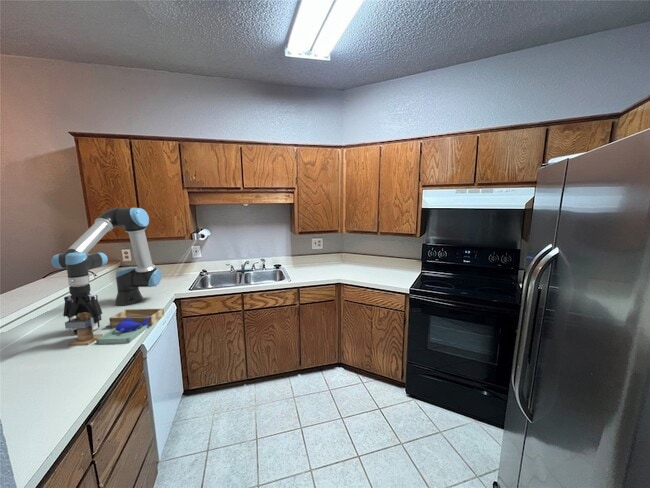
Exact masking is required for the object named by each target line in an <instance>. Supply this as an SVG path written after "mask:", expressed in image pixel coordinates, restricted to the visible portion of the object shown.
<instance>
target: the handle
mask: <svg viewBox="0 0 650 488" xmlns="http://www.w3.org/2000/svg"><path fill="white" fill-rule="evenodd" d="M77 315H78V317H79V318H80V320H88V319H87V317H89V316H91V314H90V313H87V312H83V313H78V314H77ZM76 335H77V338H76V339H74V340H72V341H70V342H69V343H68V346H89V345H90V344H92V343H94V342H95V341H96V339H97V338H99V337H101V336H102V335H103V334H102V333H101V334H99V333H98V334H94V331H93V330H92V325H91V326H89V327H87V328H77V334H76Z"/></svg>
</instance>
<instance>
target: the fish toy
mask: <svg viewBox="0 0 650 488" xmlns="http://www.w3.org/2000/svg"><path fill="white" fill-rule="evenodd" d="M148 320H149V318H146V319H145V320H144V321H143V323H136V322H132V321H133V320H132V319H125V320H124V321H123V322H120V323H119V324H118V325H117V326H116V328H115V329H116V330H117V331H128V330H132V331H134V330H139V329H138V328H137V327H138V326H140V325H143V326H145V325H147V321H148ZM147 329H150V326H148V325H147Z"/></svg>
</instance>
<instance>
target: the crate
mask: <svg viewBox="0 0 650 488" xmlns="http://www.w3.org/2000/svg"><path fill="white" fill-rule="evenodd" d="M164 310H165V309H164V308H137V309H136V308H135V309H134V308H133V309H132V308H131V309H130V308H129V309H125V308H124V310H121V311H120V312H118V313H117V314H114V315H113V316H110V317H109V328H110V329H114V328H116V326H117V325H118V324H119V323H120V322H123V321H124V320H125V319H132V320H133V321H132V322H136V323H143V321H144V320H145V319H146V318H149V320H148V321H147V325H148V327H153V325H155V324H156V323H158V321H160V320H161V319H162V318H164V316H165V311H164Z"/></svg>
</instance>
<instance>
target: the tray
mask: <svg viewBox="0 0 650 488" xmlns="http://www.w3.org/2000/svg"><path fill="white" fill-rule="evenodd" d="M137 328H138V329H136V330H134V331H132V330H128V331H117V330H116V329H115V328H111V329H110V330H108V332H106V333H104V334H102V336H101V337H99V338H97V339H96V340H95V341H96V342H95V343H96V345H109V344H111V345H114V344H117V345H119V344H131V342H132V341H133V340H135V339H136V338H137V337H139V336H140V335H141V334H142V333H143V332H145V331H146V330H147V329H148V328H147V325H145V326H143V325H140V326H138V327H137Z"/></svg>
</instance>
